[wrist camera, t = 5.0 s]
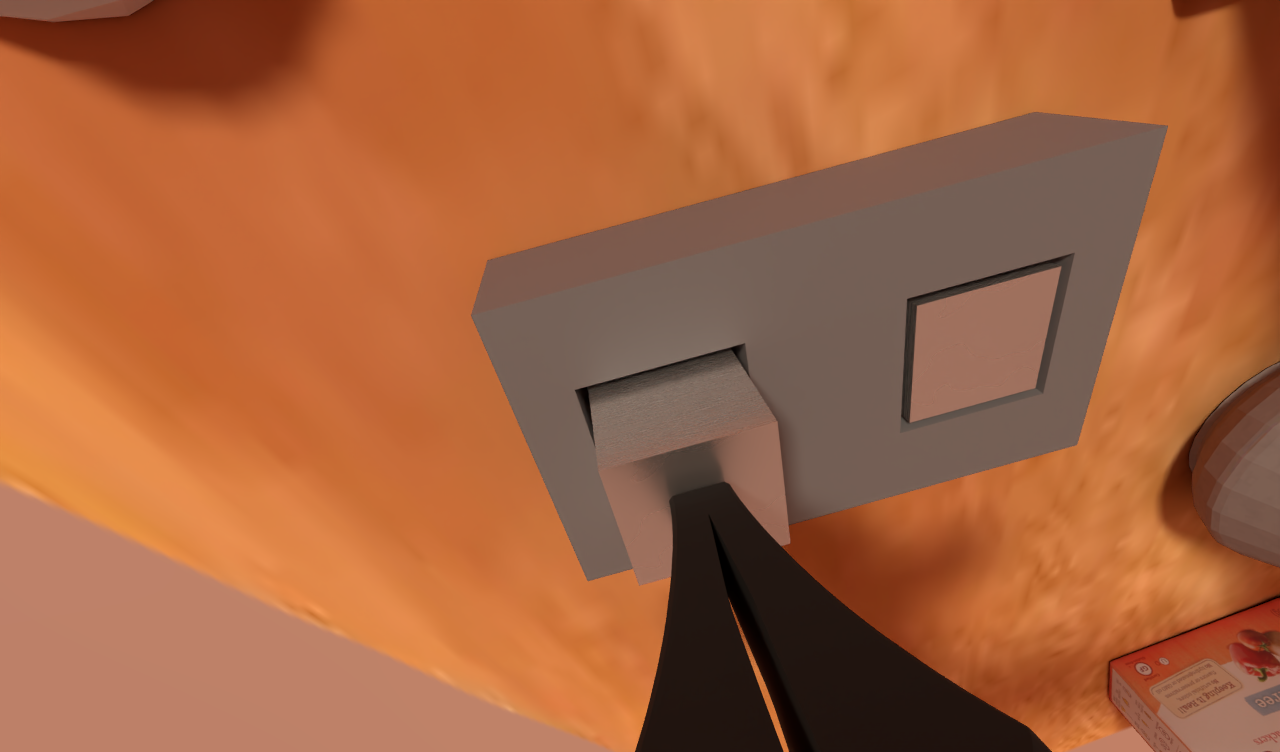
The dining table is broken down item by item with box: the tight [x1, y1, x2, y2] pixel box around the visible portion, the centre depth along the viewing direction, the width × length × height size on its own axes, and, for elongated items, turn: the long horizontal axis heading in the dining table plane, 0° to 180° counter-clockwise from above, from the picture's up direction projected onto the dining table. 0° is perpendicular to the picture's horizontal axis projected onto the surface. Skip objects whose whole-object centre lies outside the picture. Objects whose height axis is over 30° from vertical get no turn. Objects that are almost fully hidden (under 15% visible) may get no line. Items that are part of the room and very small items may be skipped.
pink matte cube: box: [901, 260, 1061, 423], centre depth 17 cm, size 4×4×4 cm
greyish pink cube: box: [588, 347, 790, 586], centre depth 14 cm, size 4×4×4 cm
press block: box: [471, 112, 1168, 581], centre depth 17 cm, size 17×10×4 cm, turn 103°
